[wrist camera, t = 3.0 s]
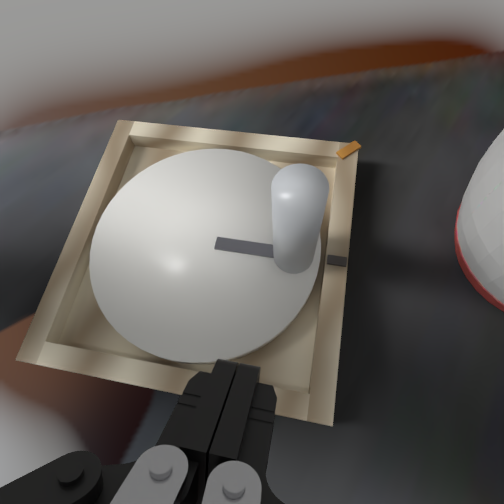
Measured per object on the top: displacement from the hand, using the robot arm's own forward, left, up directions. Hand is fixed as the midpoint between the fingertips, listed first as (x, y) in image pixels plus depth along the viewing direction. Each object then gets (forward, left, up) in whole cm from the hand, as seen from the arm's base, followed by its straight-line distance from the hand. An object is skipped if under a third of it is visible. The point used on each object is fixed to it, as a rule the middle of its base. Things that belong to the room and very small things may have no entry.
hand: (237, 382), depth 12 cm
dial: (-6, +10, -13) cm, 18 cm away
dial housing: (-6, +10, -15) cm, 19 cm away
